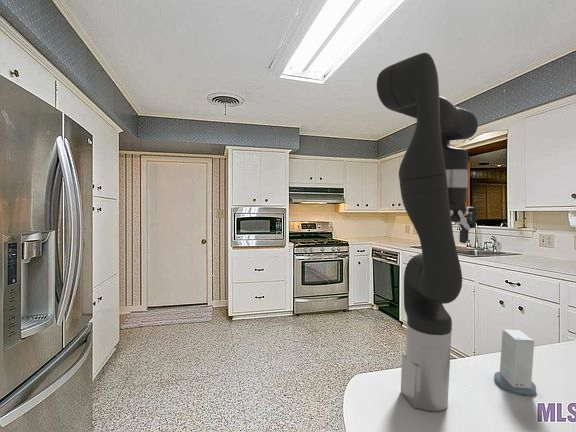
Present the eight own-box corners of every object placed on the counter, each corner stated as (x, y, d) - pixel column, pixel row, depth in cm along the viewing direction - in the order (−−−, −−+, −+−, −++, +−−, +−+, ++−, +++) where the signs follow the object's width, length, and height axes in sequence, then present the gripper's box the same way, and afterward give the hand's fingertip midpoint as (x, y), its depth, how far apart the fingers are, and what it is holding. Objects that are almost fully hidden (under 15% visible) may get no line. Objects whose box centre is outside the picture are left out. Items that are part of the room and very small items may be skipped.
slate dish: (513, 397, 73) (513, 393, 73) (486, 376, 81) (486, 372, 81) (545, 394, 74) (545, 390, 74) (514, 373, 82) (515, 370, 82)
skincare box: (531, 389, 74) (535, 340, 73) (512, 387, 75) (515, 339, 74) (516, 374, 80) (519, 329, 79) (498, 373, 81) (501, 328, 80)
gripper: (437, 185, 84) (434, 245, 85) (485, 186, 86) (481, 244, 87) (421, 186, 91) (419, 241, 93) (465, 186, 93) (463, 240, 95)
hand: (449, 243), depth 90 cm, fingers open, 8 cm apart
